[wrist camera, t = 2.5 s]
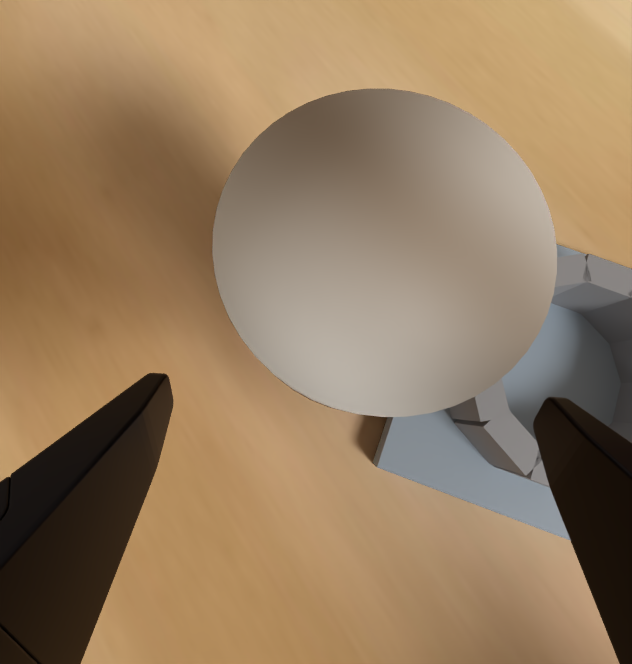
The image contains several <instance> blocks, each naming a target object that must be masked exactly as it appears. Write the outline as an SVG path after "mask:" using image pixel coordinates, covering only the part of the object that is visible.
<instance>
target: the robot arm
mask: <svg viewBox="0 0 632 664" xmlns="http://www.w3.org/2000/svg"><path fill="white" fill-rule="evenodd" d="M172 409H173V395H172V390H171V385H170V380H169V377H168V375H166V374H162V373H149V374H147V375H146V376H144V377H143V378H141V379H140V380H139V381H137V382H136V383H135V384H133V385H132V386H131V387H129V388H128V389H126V390H125V391H124V392H122V393H121V394H120V395H118V396H117V397H116V398H114V399H113V400H111V401H110V402H109V403H107V404H106V405H105V406H103V407H102V408H101V409H99V410H98V411H96V412H95V413H94V414H92V415H91V416H90V417H88V418H87V419H86V420H84V421H83V422H81V423H80V424H79V425H77V426H76V427H75V428H73V429H72V430H71V431H69V432H68V433H66V434H65V435H64V436H62V437H61V438H60V439H58V440H57V441H56V442H54V443H53V444H52V445H50V446H49V447H47V448H46V449H45V450H43V451H42V452H41V453H39V454H38V455H37V456H35V457H34V458H32V459H31V460H30V461H28V462H27V463H26V464H24V465H23V466H22V467H20V468H19V469H17V470H16V471H15V472H13V473H12V474H11V476H10V477H6V478H5V479H4V480H2V481H1V482H0V664H81V661H82V659H83V656H84V654H85V651H86V648H87V646H88V643H89V641H90V638H91V636H92V633H93V631H94V628H95V625H96V623H97V620H98V618H99V615H100V613H101V610H102V607H103V605H104V602H105V600H106V597H107V595H108V592H109V590H110V587H111V584H112V582H113V579H114V577H115V574H116V572H117V569H118V567H119V564H120V561H121V559H122V556H123V554H124V551H125V549H126V546H127V543H128V541H129V538H130V536H131V533H132V531H133V528H134V526H135V523H136V520H137V518H138V515H139V513H140V510H141V508H142V505H143V503H144V500H145V497H146V495H147V492H148V490H149V487H150V485H151V482H152V480H153V477H154V474H155V471H156V469H157V466H158V462H159V459H160V455H161V451H162V447H163V443H164V440H165V436H166V432H167V428H168V424H169V420H170V417H171V413H172ZM533 430H534V434H535V437H536V441H537V444H538V448H539V451H540V455H541V459H542V462H543V466H544V469H545V473H546V477H547V480H548V483H549V486H550V489H551V492H552V495H553V497H554V500H555V503H556V505H557V508H558V510H559V513H560V515H561V518H562V520H563V523H564V525H565V528H566V530H567V533H568V535H569V538H570V540H571V543H572V545H573V548H574V550H575V553H576V555H577V558H578V560H579V563H580V565H581V568H582V570H583V573H584V575H585V578H586V580H587V583H588V585H589V588H590V590H591V593H592V595H593V598H594V600H595V603H596V606H597V608H598V611H599V613H600V616H601V618H602V621H603V623H604V626H605V628H606V631H607V633H608V636H609V638H610V641H611V643H612V646H613V648H614V651H615V653H616V656H617V658H618V661H619V663H620V664H632V443H631V442H630V441H628V440H627V439H625V438H624V437H623V436H621V435H620V434H618V433H617V432H615V431H614V430H612V429H611V428H610V427H608V426H607V425H605V424H604V423H602V422H601V421H599V420H598V419H597V418H595V417H594V416H592V415H591V414H589V413H588V412H587V411H585V410H584V409H582V408H581V407H579V406H578V405H576V404H575V403H574V402H572V401H571V400H569V399H567V398H564V397H548V398H546V399H545V400H544V402H543V404H542V406H541V408H540V409H539V411H538V413H537V415H536V417H535V418H534V422H533Z"/></svg>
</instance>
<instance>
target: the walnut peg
mask: <svg viewBox="0 0 632 664" xmlns="http://www.w3.org/2000/svg"><path fill="white" fill-rule="evenodd" d="M212 254H213V263H214V272H215V277H216V281H217V285H218V289H219V293H220V296H221V299H222V301H223V304H224V306H225V309H226V311H227V314H228V316H229V318H230V320H231V322H232V323H233V325H234V327H235V328H236V330H237V332H238V334H239V335H240V337H241V338H242V340H243V341H244V342H245V344H246V345H247V346H248V348H249V349H250V350H251V351H252V353H253V354H254V355H255V356H256V357H257V358H258V359H259V360H260V361H261V362H262V363H263V364H264V365H265V366H266V367H267V368H268V369H269V370H270V371H271V372H272V373H273V374H274V375H275V376H276V377H277V378H278V379H279V380H281V381H282V382H283V383H285V384H286V385H287V386H289V387H290V388H291V389H293V390H294V391H296V392H298V393H300V394H301V395H303V396H305V397H307V398H308V399H310V400H312V401H315V402H317V403H320V404H322V405H325V406H327V407H330V408H334V409H338V410H342V411H346V412H350V413H355V414H361V415H369V416H378V417H409V416H415V415H422V414H428V413H433V412H436V411H440V410H443V409H446V408H450V407H453V406H456V405H458V404H460V403H462V402H464V401H466V400H469V399H471V398H473V397H475V396H477V395H478V394H480V393H481V392H483V391H485V390H486V389H488V388H489V387H491V386H492V385H494V384H495V383H496V382H498V381H499V380H500V379H501V378H502V377H503V376H505V375H506V374H507V373H508V372H509V371H510V370H512V369H513V367H514V366H515V365H516V364H517V363H518V362H519V360H520V359H521V358H522V357H523V356H524V355H525V354H526V352H527V351H528V349H529V348H530V346H531V345H532V343H533V342H534V340H535V338H536V337H537V335H538V334H539V332H540V330H541V327H542V325H543V323H544V321H545V319H546V316H547V314H548V311H549V308H550V304H551V301H552V297H553V294H554V288H555V281H556V275H557V246H556V238H555V230H554V226H553V222H552V219H551V215H550V211H549V208H548V205H547V203H546V200H545V198H544V196H543V193H542V191H541V189H540V187H539V185H538V183H537V181H536V180H535V178H534V176H533V174H532V173H531V171H530V169H529V168H528V167H527V165H526V164H525V163H524V161H523V160H522V159H521V157H520V156H519V155H518V153H517V152H516V151H515V150H514V149H513V148H512V147H511V146H510V145H509V144H508V143H507V142H506V141H505V140H504V139H503V138H502V137H501V136H500V135H499V134H498V133H496V132H495V131H494V130H493V129H492V128H490V127H489V126H488V125H487V124H485V123H484V122H482V121H481V120H479V119H478V118H476V117H474V116H473V115H471V114H470V113H468V112H466V111H464V110H462V109H460V108H458V107H456V106H454V105H452V104H450V103H447V102H445V101H442V100H439V99H436V98H434V97H431V96H427V95H423V94H419V93H415V92H410V91H403V90H395V89H361V90H352V91H345V92H341V93H337V94H332V95H328V96H325V97H322V98H319V99H317V100H314V101H311V102H308V103H306V104H304V105H302V106H300V107H298V108H296V109H294V110H293V111H291V112H289V113H287V114H286V115H284V116H283V117H281V118H280V119H278V120H277V121H276V122H274V123H273V124H271V125H270V126H269V127H268V128H267V129H266V130H265V131H264V132H262V133H261V134H260V135H259V136H258V137H257V138H256V139H255V140H254V141H253V142H252V144H251V145H250V146H249V147H248V148H247V149H246V150H245V152H244V153H243V154H242V156H241V157H240V159H239V160H238V162H237V163H236V165H235V166H234V168H233V170H232V171H231V173H230V175H229V178H228V180H227V182H226V184H225V186H224V188H223V191H222V194H221V197H220V200H219V203H218V206H217V210H216V216H215V221H214V227H213V246H212Z"/></svg>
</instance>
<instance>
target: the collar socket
mask: <svg viewBox="0 0 632 664" xmlns="http://www.w3.org/2000/svg"><path fill="white" fill-rule="evenodd" d="M556 246H557V275H556V281H555V288H554V294H553V297H552V301H551V304H550V308H549V311H548V314H547V316H546V319H545V321H544V323H543V325H542V327H541V330H540V332H539V334H538V335H537V337H536V338H535V340H534V342H533V343H532V345H531V346H530V348H529V349H528V351H527V352H526V354H525V355H524V356H523V357H522V358H521V359H520V360H519V362H518V363H517V364H516V365H515V366H514V367H513V369H512V370H510V371H509V372H508V373H507V374H506V375H505V376H503V377H502V378H501V379H500V380H499V381H498V382H496V383H495V384H494V385H492V386H491V387H489V388H488V389H486V390H485V391H483V392H481V393H480V394H478V395H477V396H475V397H473V398H471V399H469V400H466V401H464V402H462V403H460V404H458V405H456V406H453V407H450V408H446V409H443V410H440V411H436V412H433V413H428V414H422V415H415V416H409V417H388V418H387V421H386V424H385V427H384V430H383V433H382V436H381V439H380V442H379V445H378V448H377V451H376V454H375V457H374V460H373V464H374V465H375V466H376V467H378V468H380V469H383V470H386V471H388V472H391V473H394V474H396V475H399V476H402V477H404V478H407V479H409V480H412V481H415V482H417V483H420V484H423V485H425V486H428V487H431V488H433V489H436V490H438V491H441V492H444V493H446V494H449V495H452V496H454V497H457V498H460V499H462V500H465V501H468V502H470V503H473V504H475V505H478V506H481V507H483V508H486V509H489V510H491V511H494V512H497V513H499V514H502V515H505V516H507V517H510V518H512V519H515V520H518V521H520V522H523V523H526V524H528V525H531V526H534V527H536V528H539V529H542V530H544V531H547V532H549V533H552V534H555V535H557V536H560V537H563V538H565V539H568V540H570V538H569V535H568V533H567V530H566V528H565V525H564V523H563V520H562V518H561V515H560V513H559V510H558V508H557V505H556V503H555V500H554V497H553V495H552V492H551V489H550V486H549V483H548V480H547V477H546V473H545V469H544V466H543V462H542V459H541V455H540V451H539V448H538V444H537V441H536V437H535V434H534V430H533V422H534V418H535V417H536V415H537V413H538V411H539V409H540V408H541V406H542V404H543V402H544V400H545V399H546V398H548V397H564V398H567V399H569V400H571V401H572V402H574V403H575V404H576V405H578V406H579V407H581V408H582V409H584V410H585V411H587V412H588V413H589V414H591V415H592V416H594V417H595V418H597V419H598V420H599V421H601V422H602V423H604V424H605V425H607V426H608V427H610V428H611V429H612V430H614V431H615V432H617V433H618V434H620V435H621V436H623V437H624V438H625V439H627V440H628V441H630V442H631V443H632V269H630V268H628V267H625V266H622V265H619V264H616V263H613V262H611V261H608V260H605V259H602V258H599V257H597V256H594V255H591V254H587V255H586V254H584V253H580V252H577V251H574V250H571V249H569V248H566V247H563V246H560V245H557V244H556Z"/></svg>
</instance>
